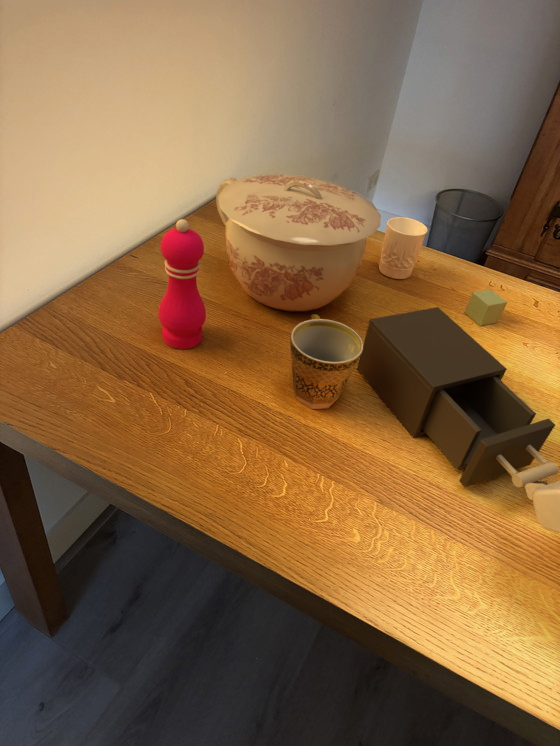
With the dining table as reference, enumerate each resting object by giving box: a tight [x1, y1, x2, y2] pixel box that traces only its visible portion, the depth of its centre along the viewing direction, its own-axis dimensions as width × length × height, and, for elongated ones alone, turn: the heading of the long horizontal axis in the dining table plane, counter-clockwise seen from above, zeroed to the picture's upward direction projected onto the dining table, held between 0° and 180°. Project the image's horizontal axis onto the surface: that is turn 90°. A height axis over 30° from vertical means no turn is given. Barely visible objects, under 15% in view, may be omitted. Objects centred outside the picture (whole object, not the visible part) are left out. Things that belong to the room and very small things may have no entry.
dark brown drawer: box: [422, 376, 559, 488], centre depth 72 cm, size 19×11×8 cm, turn 25°
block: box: [464, 288, 508, 327], centre depth 101 cm, size 4×4×4 cm
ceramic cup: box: [289, 313, 364, 410], centre depth 78 cm, size 13×10×10 cm
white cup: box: [378, 216, 428, 280], centre depth 109 cm, size 8×8×10 cm
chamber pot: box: [215, 172, 382, 312], centre depth 95 cm, size 28×28×21 cm
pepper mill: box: [158, 218, 207, 350], centre depth 80 cm, size 7×7×20 cm
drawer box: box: [356, 306, 508, 439], centre depth 80 cm, size 16×13×10 cm
